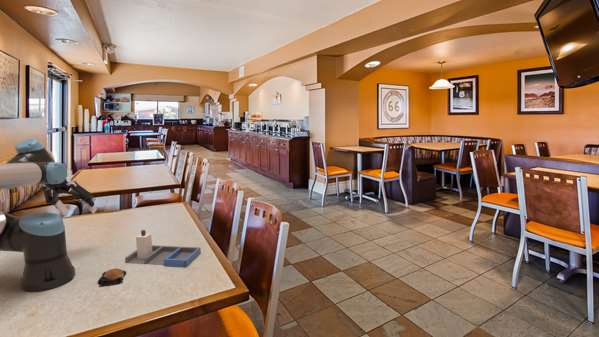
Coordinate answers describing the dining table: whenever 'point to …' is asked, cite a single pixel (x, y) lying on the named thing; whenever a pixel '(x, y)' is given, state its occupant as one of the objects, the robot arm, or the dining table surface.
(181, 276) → the dining table surface
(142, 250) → the cream block with knob
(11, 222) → the robot arm
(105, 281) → the bun on dark wrapper
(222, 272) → the dining table surface
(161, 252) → the gray divided tray
